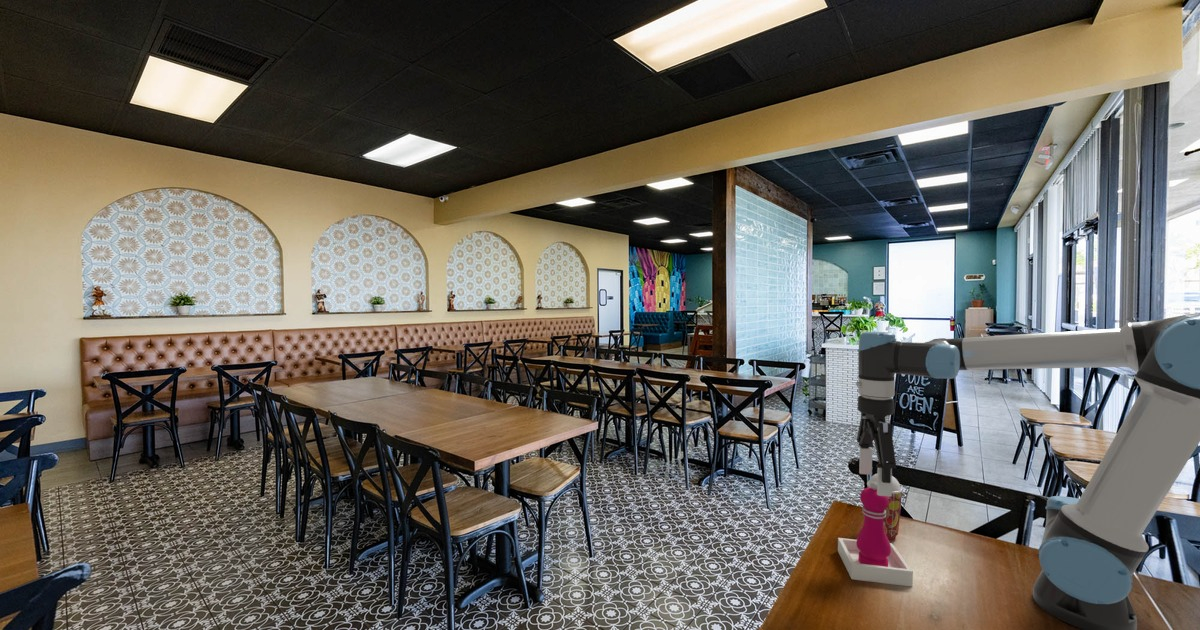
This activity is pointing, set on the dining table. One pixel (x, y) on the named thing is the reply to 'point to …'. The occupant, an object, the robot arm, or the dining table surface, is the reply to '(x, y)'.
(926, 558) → the dining table surface
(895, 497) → the smoothie
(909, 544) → the dining table surface
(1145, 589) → the dining table surface
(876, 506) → the pepper mill
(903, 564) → the tray
